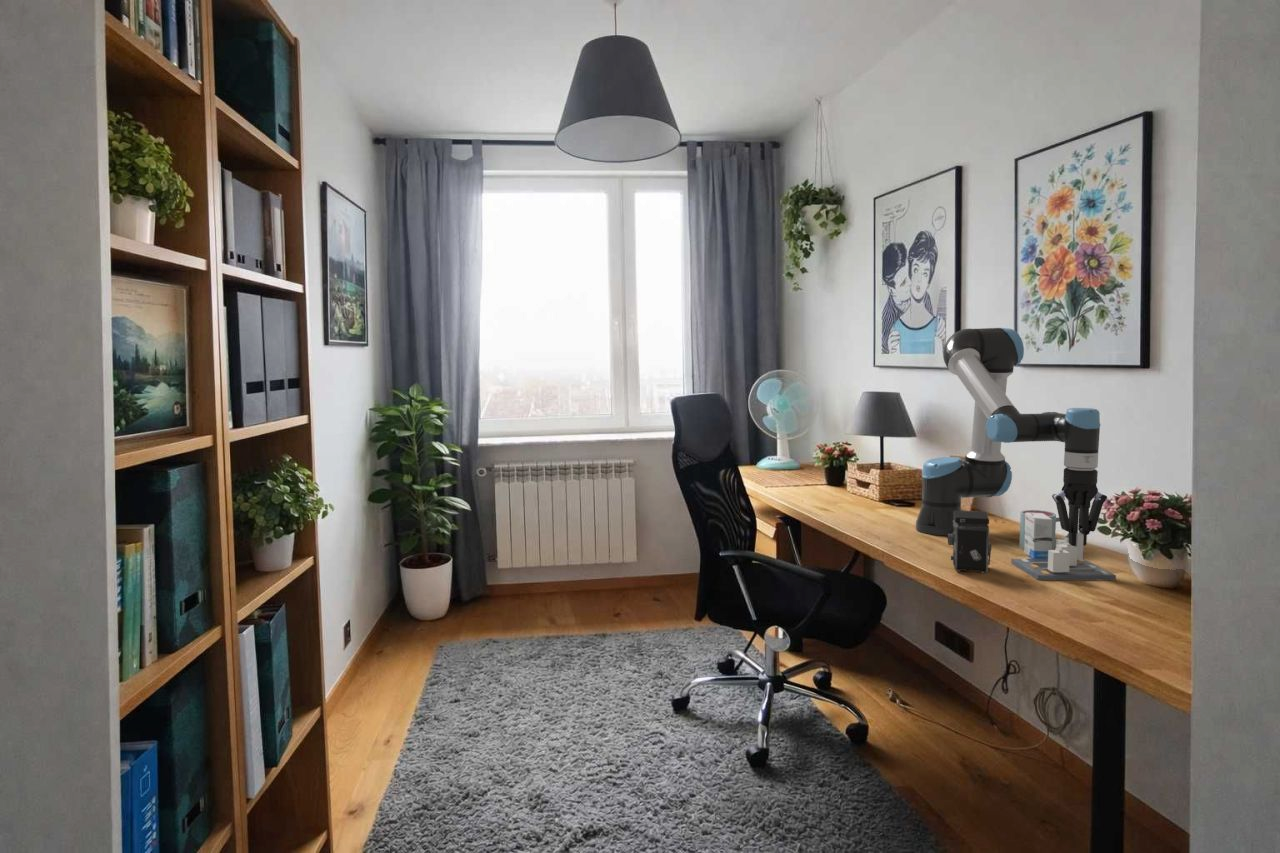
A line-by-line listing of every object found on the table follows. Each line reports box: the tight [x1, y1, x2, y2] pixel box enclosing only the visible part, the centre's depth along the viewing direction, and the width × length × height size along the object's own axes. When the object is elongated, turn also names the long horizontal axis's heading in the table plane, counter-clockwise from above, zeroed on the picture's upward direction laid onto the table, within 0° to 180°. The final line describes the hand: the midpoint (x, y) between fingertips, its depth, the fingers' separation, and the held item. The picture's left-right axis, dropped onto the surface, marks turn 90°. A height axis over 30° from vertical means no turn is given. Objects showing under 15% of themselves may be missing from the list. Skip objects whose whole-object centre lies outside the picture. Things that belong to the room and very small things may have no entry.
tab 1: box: [1054, 536, 1069, 550], centre depth 197 cm, size 3×4×6 cm, turn 87°
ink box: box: [1023, 513, 1052, 559], centre depth 206 cm, size 9×5×12 cm, turn 168°
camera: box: [947, 510, 992, 574], centre depth 196 cm, size 10×10×15 cm
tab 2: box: [1055, 542, 1077, 566], centre depth 192 cm, size 3×4×6 cm, turn 87°
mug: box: [1019, 509, 1069, 550], centre depth 215 cm, size 14×9×10 cm
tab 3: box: [1048, 547, 1070, 572], centre depth 187 cm, size 3×4×6 cm, turn 87°
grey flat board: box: [1010, 558, 1117, 581], centre depth 192 cm, size 15×19×2 cm
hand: (1076, 557), depth 192 cm, fingers closed
